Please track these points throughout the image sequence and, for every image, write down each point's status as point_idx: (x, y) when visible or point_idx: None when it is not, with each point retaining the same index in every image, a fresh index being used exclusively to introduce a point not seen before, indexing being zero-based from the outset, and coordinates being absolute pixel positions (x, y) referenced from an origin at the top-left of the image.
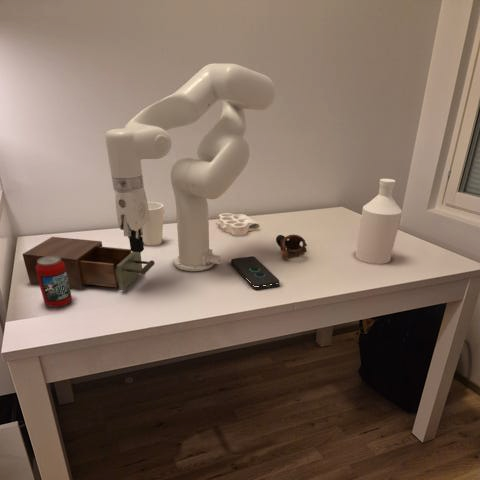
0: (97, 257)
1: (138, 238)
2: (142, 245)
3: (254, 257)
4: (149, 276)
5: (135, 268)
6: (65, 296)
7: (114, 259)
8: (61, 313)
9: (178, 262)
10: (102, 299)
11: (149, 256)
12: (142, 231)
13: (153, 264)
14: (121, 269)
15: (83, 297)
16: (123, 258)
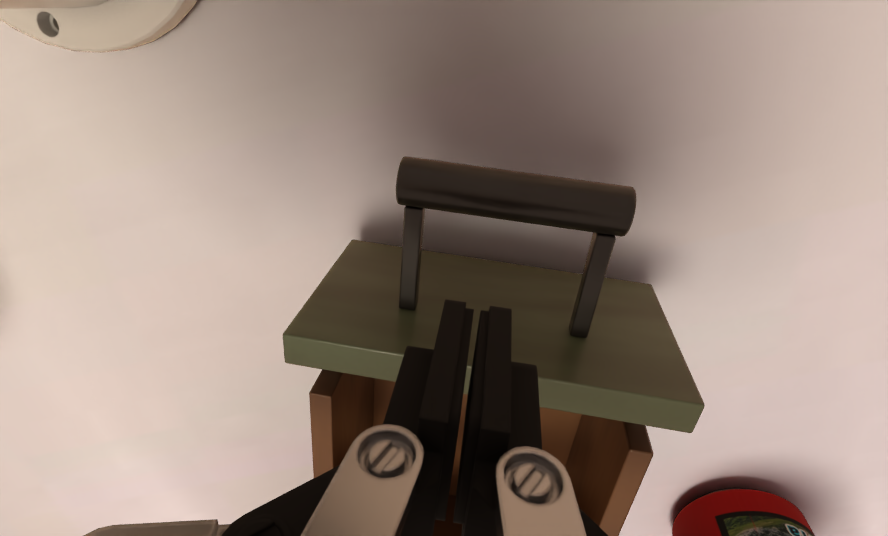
0: None
1: (530, 453)
2: (461, 339)
3: None
4: (382, 181)
5: (442, 286)
6: (800, 532)
7: (358, 431)
8: (855, 489)
9: (134, 2)
10: (718, 364)
11: (104, 251)
12: (346, 468)
13: (430, 160)
14: (688, 380)
15: (683, 445)
16: (355, 392)
